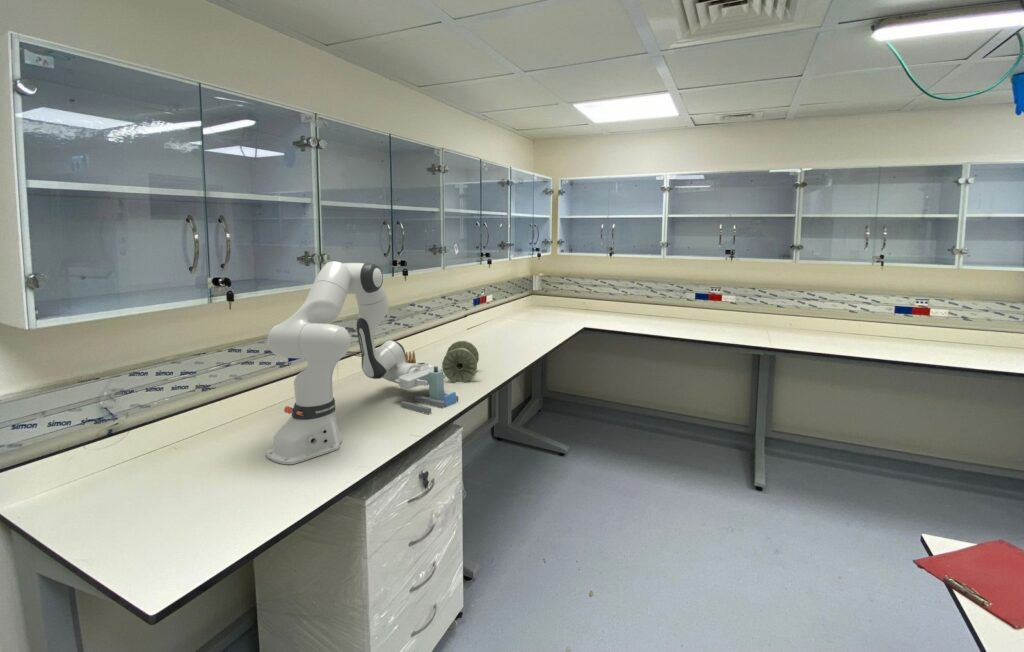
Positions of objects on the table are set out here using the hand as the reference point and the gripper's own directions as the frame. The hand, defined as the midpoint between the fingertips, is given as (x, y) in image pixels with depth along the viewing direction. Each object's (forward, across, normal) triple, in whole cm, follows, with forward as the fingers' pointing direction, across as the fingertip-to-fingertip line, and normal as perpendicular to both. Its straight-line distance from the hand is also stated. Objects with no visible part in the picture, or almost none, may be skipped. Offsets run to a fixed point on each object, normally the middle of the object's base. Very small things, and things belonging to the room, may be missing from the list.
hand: (436, 380), depth 200 cm
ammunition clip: (-33, +16, +9) cm, 38 cm away
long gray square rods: (0, -4, +9) cm, 10 cm away
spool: (-12, +30, +9) cm, 34 cm away
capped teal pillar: (0, 0, +9) cm, 9 cm away
